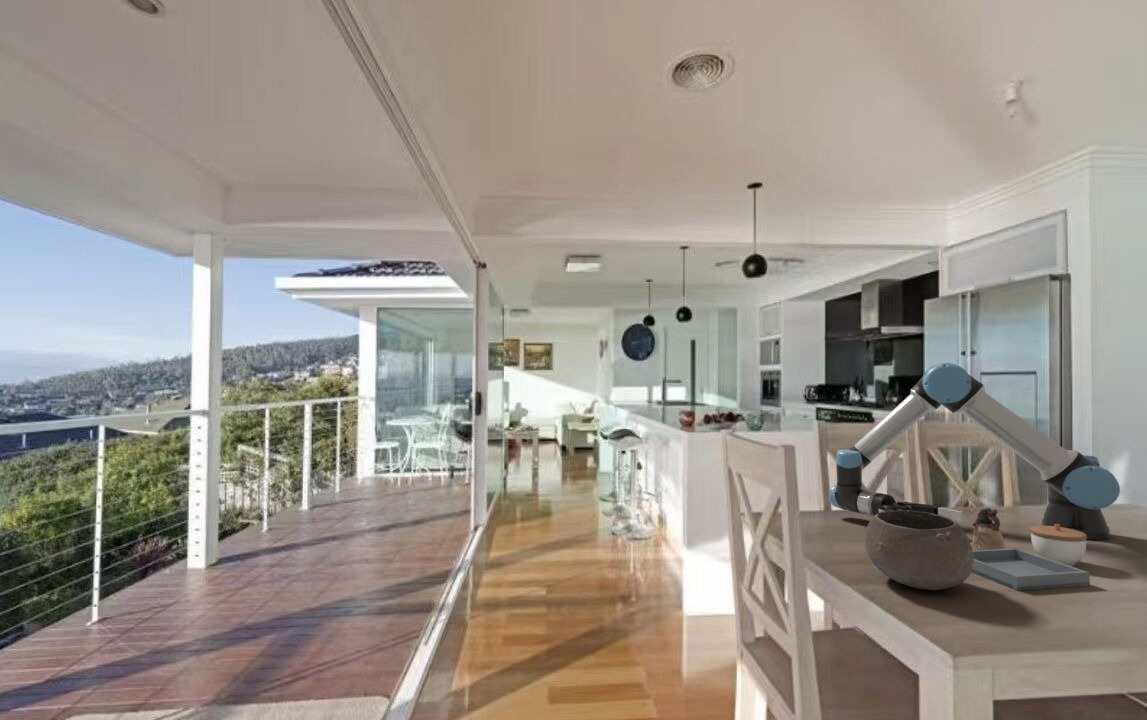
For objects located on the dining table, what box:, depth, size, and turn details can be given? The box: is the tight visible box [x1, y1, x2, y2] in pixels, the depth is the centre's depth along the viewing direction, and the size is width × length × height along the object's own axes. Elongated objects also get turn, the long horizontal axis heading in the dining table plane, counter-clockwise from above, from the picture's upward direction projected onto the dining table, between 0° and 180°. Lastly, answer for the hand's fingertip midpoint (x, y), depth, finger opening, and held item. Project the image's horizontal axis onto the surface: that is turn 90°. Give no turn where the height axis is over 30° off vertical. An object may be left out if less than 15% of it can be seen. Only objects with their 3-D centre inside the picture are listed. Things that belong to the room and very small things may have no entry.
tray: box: [971, 547, 1091, 592], centre depth 132 cm, size 18×18×3 cm
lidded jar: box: [1029, 524, 1088, 567], centre depth 140 cm, size 11×11×9 cm
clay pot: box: [864, 511, 974, 591], centre depth 126 cm, size 21×21×15 cm
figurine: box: [970, 507, 1006, 550], centre depth 147 cm, size 7×7×12 cm
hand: (948, 519), depth 156 cm, fingers open, 13 cm apart
